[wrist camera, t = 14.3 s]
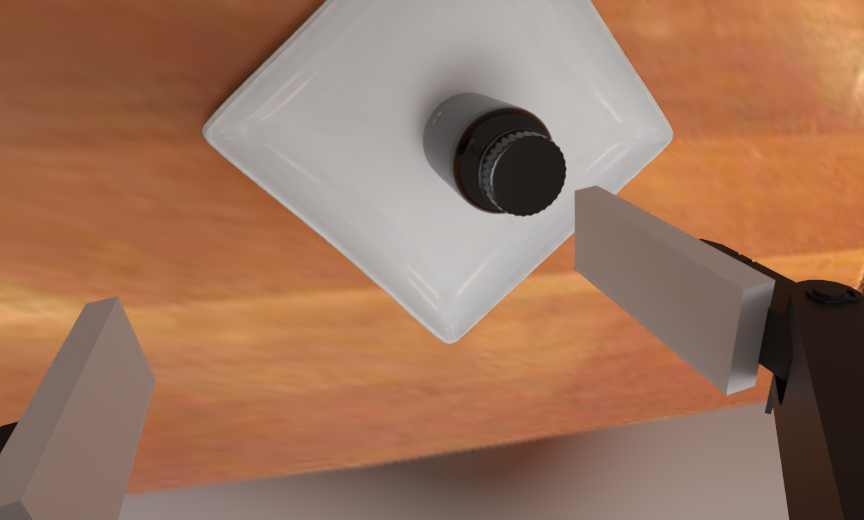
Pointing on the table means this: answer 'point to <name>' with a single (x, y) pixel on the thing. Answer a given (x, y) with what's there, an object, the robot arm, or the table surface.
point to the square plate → (404, 126)
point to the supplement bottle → (494, 154)
